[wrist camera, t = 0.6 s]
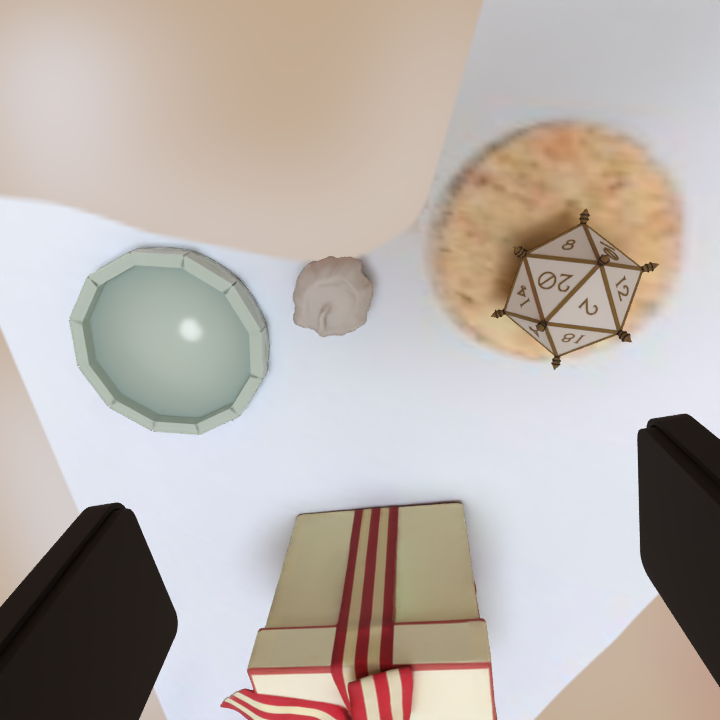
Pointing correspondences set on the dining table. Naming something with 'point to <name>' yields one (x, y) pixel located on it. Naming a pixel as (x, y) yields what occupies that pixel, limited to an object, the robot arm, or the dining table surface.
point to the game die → (573, 290)
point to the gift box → (373, 623)
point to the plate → (170, 340)
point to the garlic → (332, 296)
